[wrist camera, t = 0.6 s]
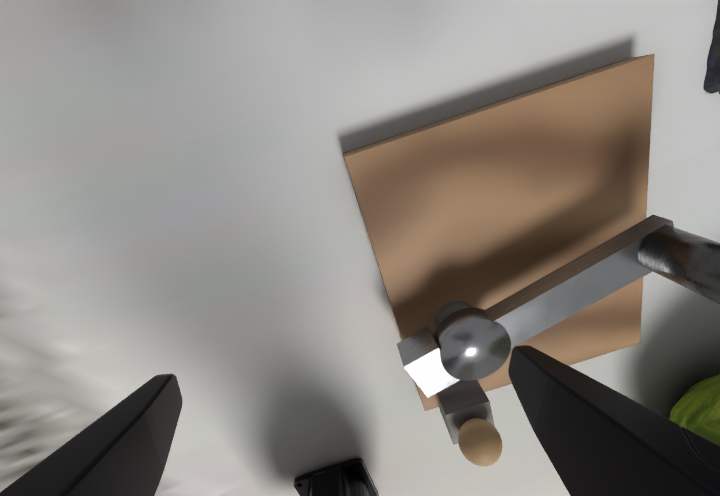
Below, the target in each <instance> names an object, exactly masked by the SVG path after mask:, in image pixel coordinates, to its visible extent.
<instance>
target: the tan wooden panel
mask: <svg viewBox="0 0 720 496" xmlns="http://www.w3.org/2000/svg"><path fill="white" fill-rule="evenodd" d="M653 71H654V54H652V55H646V56H640V57H634V58H629V59H626V60H623V61H620V62H617V63H614V64H611V65H608V66H605V67H602V68H599V69H596V70H593V71H590V72H587V73H584V74H581V75H578V76H575V77H572V78H569V79H566V80H563V81H560V82H557V83H554V84H551V85H548V86H545V87H542V88H539V89H536V90H533V91H530V92H527V93H524V94H521V95H518V96H515V97H512V98H509V99H506V100H503V101H500V102H497V103H494V104H491V105H488V106H485V107H482V108H479V109H476V110H473V111H470V112H467V113H464V114H461V115H458V116H455V117H452V118H449V119H446V120H443V121H440V122H437V123H434V124H431V125H428V126H425V127H422V128H419V129H416V130H413V131H410V132H407V133H404V134H401V135H398V136H395V137H392V138H389V139H386V140H383V141H380V142H377V143H374V144H371V145H368V146H365V147H362V148H359V149H356V150H353V151H350V152H347V153H344V154H343V156H344V160H345V163H346V166H347V169H348V172H349V175H350V178H351V182H352V185H353V188H354V191H355V194H356V197H357V200H358V204H359V207H360V210H361V213H362V216H363V219H364V222H365V226H366V229H367V232H368V235H369V238H370V241H371V244H372V248H373V251H374V254H375V257H376V260H377V263H378V266H379V270H380V273H381V276H382V279H383V282H384V285H385V288H386V292H387V295H388V298H389V301H390V304H391V307H392V310H393V314H394V317H395V320H396V323H397V326H398V329H399V332H400V336H401V339H402V341H403V340H405V339H406V338H408V337H410V336H412V335H413V334H415V333H417V332H419V331H420V330H422V329H424V328H425V327H427V326H428V328H429V329H430V331H431V332H432V334H433V335H434V334H435V331H436V329H437V327H438V325H439V324H440V323H441V322H442V320H443V319H444V318H446V317H447V316H448V315H450V314H451V313H453V312H455V311H458V310H460V309H464V308H481V309H484V310H486V309H488V308H489V307H491V306H493V305H495V304H496V303H498V302H500V301H502V300H503V299H505V298H507V297H509V296H510V295H512V294H514V293H516V292H518V291H519V290H521V289H523V288H525V287H526V286H528V285H530V284H532V283H533V282H535V281H537V280H539V279H540V278H542V277H544V276H546V275H547V274H549V273H551V272H553V271H555V270H556V269H558V268H560V267H562V266H563V265H565V264H567V263H569V262H570V261H572V260H574V259H576V258H577V257H579V256H581V255H583V254H584V253H586V252H588V251H590V250H592V249H593V248H595V247H597V246H599V245H600V244H602V243H604V242H606V241H607V240H609V239H611V238H613V237H614V236H616V235H618V234H620V233H621V232H623V231H625V230H627V229H629V228H630V227H632V226H634V225H636V224H637V223H639V222H641V221H643V220H644V219H646V209H647V190H648V170H649V150H650V130H651V111H652V91H653ZM642 288H643V277H641V278H639V279H638V280H636V281H634V282H632V283H630V284H628V285H627V286H625V287H623V288H621V289H619V290H617V291H616V292H614V293H612V294H610V295H608V296H606V297H605V298H603V299H601V300H599V301H597V302H595V303H594V304H592V305H590V306H588V307H586V308H584V309H583V310H581V311H579V312H577V313H575V314H573V315H572V316H570V317H568V318H566V319H564V320H562V321H561V322H559V323H557V324H555V325H553V326H551V327H550V328H548V329H546V330H544V331H542V332H540V333H539V334H537V335H535V336H533V337H531V338H530V339H528V340H526V341H524V342H522V343H520V344H519V345H517V346H521V345H529V346H532V347H534V348H535V349H537V350H539V351H541V352H543V353H545V354H547V355H549V356H551V357H552V358H554V359H556V360H558V361H560V362H562V363H564V364H566V365H568V366H569V365H572V364H575V363H578V362H581V361H584V360H588V359H591V358H594V357H597V356H600V355H603V354H607V353H610V352H613V351H616V350H619V349H622V348H625V347H629V346H632V345H635V344H638V343H640V328H641V308H642ZM513 348H514V347H513ZM513 348H511V350H510V354H509V356H508V358H507V360H506V361H505V363H504V364H503V365H502V366H501V367H500V368H499V369H498V370H497V371H495V372H494V373H492V374H491V375H489V376H487V377H484V378H482V379H478V380H470V381H467V380H460V381H458V382H456V383H454V384H453V385H451V386H449V387H447V388H445V389H443V390H442V391H440V392H438V393H436V394H434V395H432V396H430V397H429V398H427V396H426V395H425V394H424V392H423V391H422V390H421V388H420V387H419V386H418V385H417V383H416V382H415V383H416V386H417V389H418V392H419V395H420V398H421V401H422V404H423V407H424V410H425V411H427V410H430V409H433V408H436V407H439V408H440V411H441V414H442V416H443V419H444V421H445V424H446V426H447V429H448V431H449V434H450V437H451V439H452V442H453V444H457V443H459V447H460V449H461V452H462V453H463V455H464V456H465V457H466V458H467V459H468V460H469V461H470V462H472V463H473V464H475V465H478V466H489V465H492V464H494V463H495V462H496V461H497V460H498V459H499V457H500V455H501V452H502V440H501V437H500V434H499V432H498V431H497V429H496V428H495V426H494V421H493V416H492V411H491V406H490V401H489V400H488V398H487V396H486V394H485V393H484V392H487V391H490V390H493V389H496V388H499V387H502V386H506V385H509V384H512V382H511V380H510V378H509V374H508V368H509V363H510V358H511V353H512V349H513Z"/></svg>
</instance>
